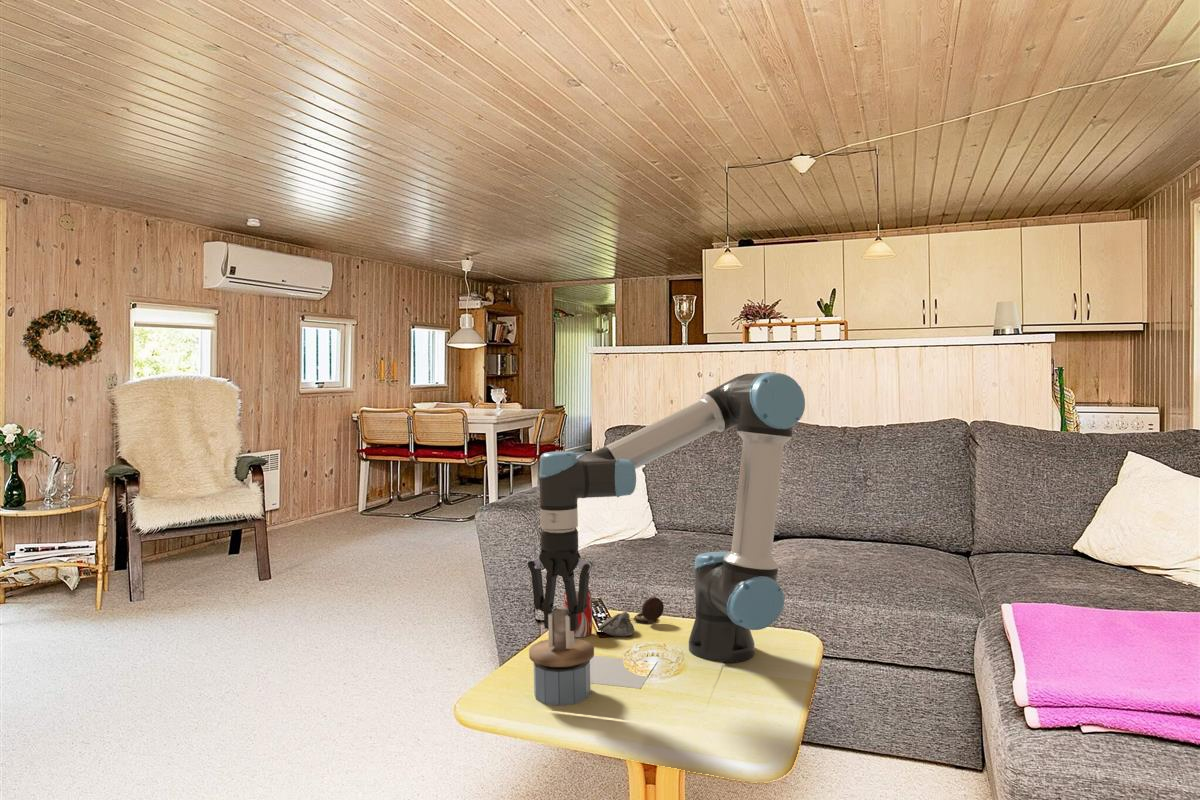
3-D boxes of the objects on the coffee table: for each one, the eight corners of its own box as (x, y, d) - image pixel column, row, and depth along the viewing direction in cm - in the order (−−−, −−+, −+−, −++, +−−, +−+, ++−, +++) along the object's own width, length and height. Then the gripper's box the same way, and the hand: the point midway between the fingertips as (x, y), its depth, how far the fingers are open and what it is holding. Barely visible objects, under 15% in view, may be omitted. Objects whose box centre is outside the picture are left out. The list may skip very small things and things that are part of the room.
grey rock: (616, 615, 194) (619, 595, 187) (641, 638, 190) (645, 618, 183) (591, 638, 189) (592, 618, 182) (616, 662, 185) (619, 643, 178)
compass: (650, 615, 200) (649, 588, 200) (664, 623, 193) (664, 596, 192) (623, 619, 196) (623, 592, 196) (637, 628, 189) (637, 600, 189)
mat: (657, 664, 164) (657, 661, 164) (640, 690, 150) (640, 688, 150) (593, 657, 169) (593, 655, 169) (571, 683, 155) (571, 680, 155)
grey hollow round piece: (596, 688, 152) (596, 654, 152) (579, 710, 141) (578, 674, 141) (547, 682, 155) (546, 649, 155) (526, 704, 145) (525, 668, 145)
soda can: (592, 640, 181) (591, 591, 181) (563, 640, 181) (562, 591, 181) (592, 630, 188) (592, 583, 188) (565, 631, 188) (564, 584, 188)
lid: (602, 646, 152) (601, 602, 152) (581, 669, 140) (580, 621, 140) (544, 641, 156) (543, 597, 156) (518, 663, 144) (517, 616, 144)
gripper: (514, 530, 147) (517, 648, 147) (591, 534, 142) (593, 655, 142) (529, 524, 154) (532, 636, 154) (603, 527, 149) (605, 642, 149)
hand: (561, 645), depth 148 cm, fingers closed on lid, 3 cm apart
